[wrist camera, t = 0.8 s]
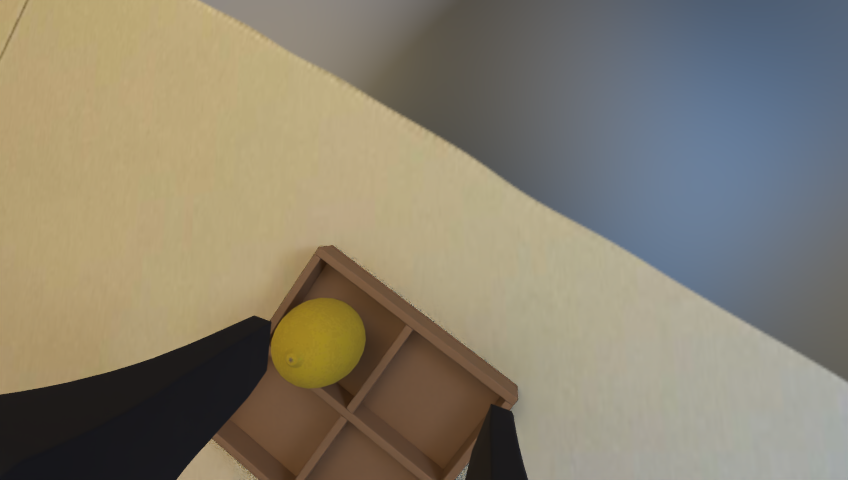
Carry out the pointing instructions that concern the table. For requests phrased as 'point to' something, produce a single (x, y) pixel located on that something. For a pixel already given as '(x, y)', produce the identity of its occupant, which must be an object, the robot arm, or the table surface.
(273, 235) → the table surface
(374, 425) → the divided wooden tray
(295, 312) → the lemon
